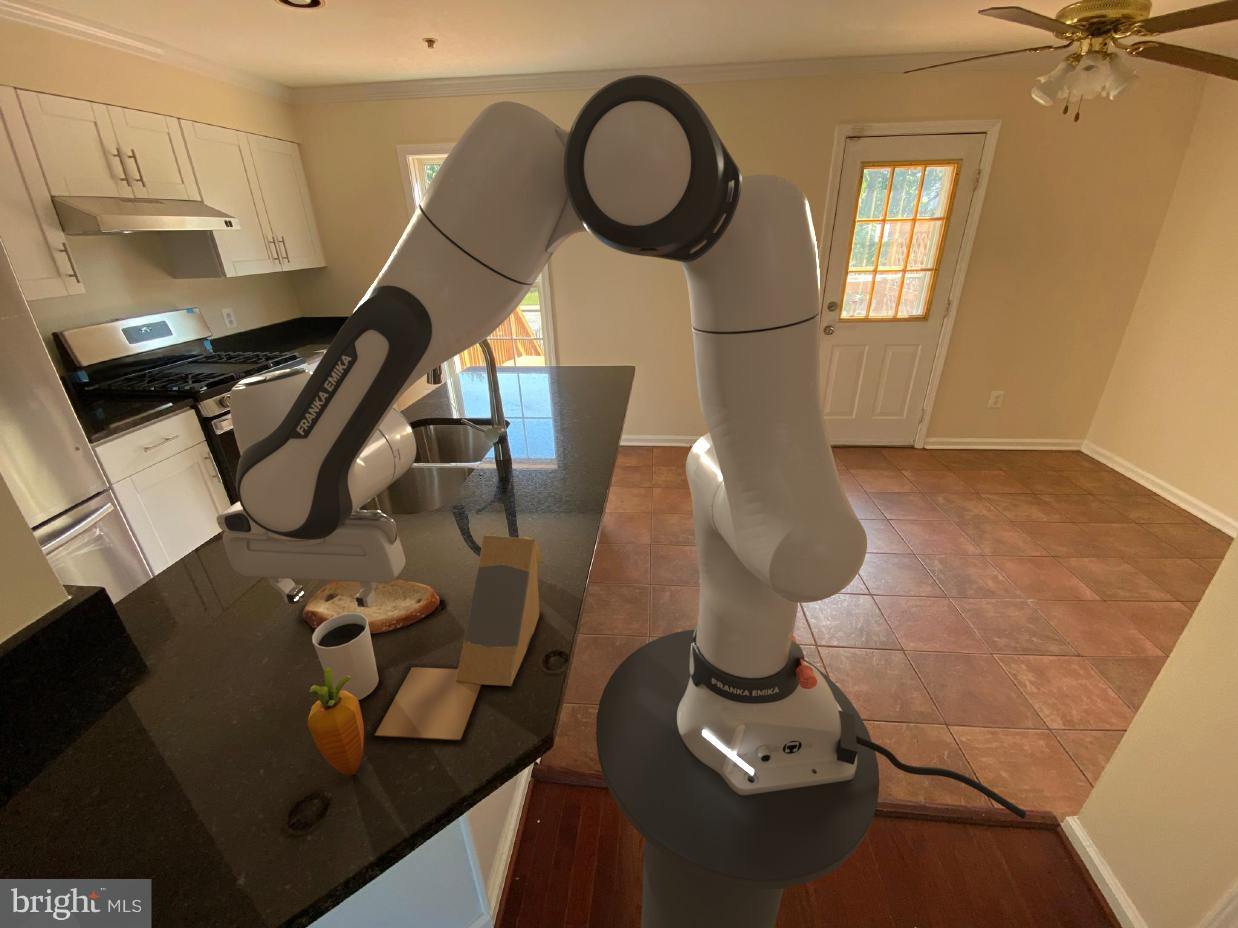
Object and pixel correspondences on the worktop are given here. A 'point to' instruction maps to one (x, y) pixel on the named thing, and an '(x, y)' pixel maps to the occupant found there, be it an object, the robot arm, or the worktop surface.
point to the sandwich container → (500, 611)
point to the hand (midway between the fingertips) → (331, 602)
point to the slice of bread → (388, 612)
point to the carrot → (337, 725)
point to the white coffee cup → (348, 652)
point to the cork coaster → (430, 706)
